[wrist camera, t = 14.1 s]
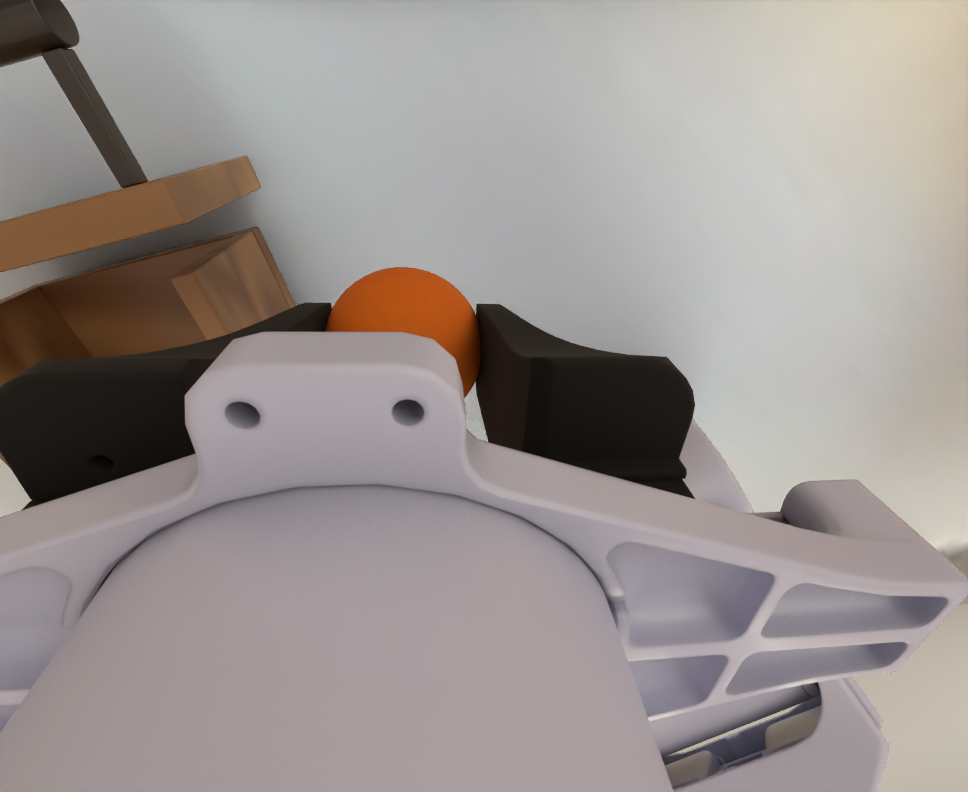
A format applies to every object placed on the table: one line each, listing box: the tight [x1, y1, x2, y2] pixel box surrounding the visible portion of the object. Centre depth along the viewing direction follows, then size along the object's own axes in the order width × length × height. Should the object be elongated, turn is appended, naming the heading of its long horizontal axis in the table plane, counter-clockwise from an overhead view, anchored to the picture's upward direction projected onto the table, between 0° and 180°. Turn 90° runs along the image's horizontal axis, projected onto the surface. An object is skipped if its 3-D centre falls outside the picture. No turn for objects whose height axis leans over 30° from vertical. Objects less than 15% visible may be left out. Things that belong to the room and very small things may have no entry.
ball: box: [325, 267, 481, 398], centre depth 13 cm, size 4×4×4 cm
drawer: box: [0, 0, 296, 467], centre depth 18 cm, size 18×11×7 cm, turn 13°
